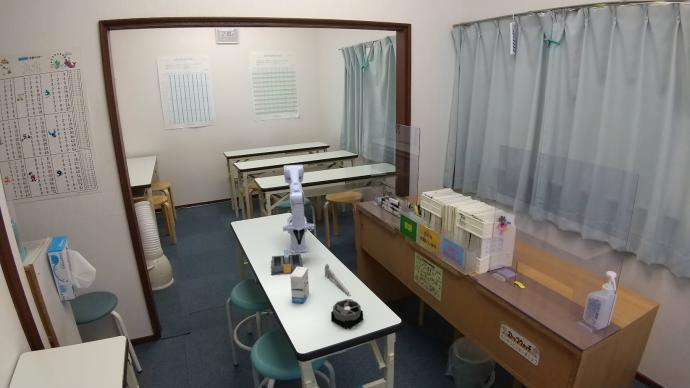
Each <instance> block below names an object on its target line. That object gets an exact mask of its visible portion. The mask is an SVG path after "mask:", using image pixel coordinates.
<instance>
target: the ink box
mask: <svg viewBox="0 0 690 388" xmlns="http://www.w3.org/2000/svg"><path fill="white" fill-rule="evenodd" d="M308 268H309V267H304V266H303V267H296V269H295V270H294V271H293V273H291V274H290V275H289V276H290V287H291V288H290V291H291V303H294V304H295V303H296V304H304V303H305V301H306V299H307V297H308V295H309V293H310V288H309V286H310V285H309V284H310V283H309V269H308Z"/></svg>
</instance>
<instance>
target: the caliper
mask: <svg viewBox="0 0 690 388" xmlns="http://www.w3.org/2000/svg"><path fill="white" fill-rule="evenodd" d="M324 276H326V278H330V279H332V280H334V282H335V283H336V285H338V287H339V289H341V290H342V292H343V293H344V294H345V295H346V296H348V297H351V294H350V291H349V290H348V289H347V288H346V287H345V285H344V284H343V283H342V282H341V280H339V278H338V276H336V275H335V273H334V271H333V270H332V269H331V268H330V265H329V264H328V263H327V264H325V265H324Z"/></svg>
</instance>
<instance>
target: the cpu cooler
mask: <svg viewBox="0 0 690 388" xmlns="http://www.w3.org/2000/svg"><path fill="white" fill-rule="evenodd" d="M361 308H362V306H361V305H360V304H359V302H357V301H355V300H353V299H351V298H345V299H342V300H339V301H336V302H335V303H334V305H333V306H332V311H331V312H330V319H331V322H332V323H334V324H336V325H337V326H340V327H342V328H343V329H345V330H347V329H349V330H351V329H352V328H353V327H355V326H357V325H358V324H359V323H361V322H363V320H364V310H362V309H361Z"/></svg>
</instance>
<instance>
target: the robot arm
mask: <svg viewBox="0 0 690 388" xmlns="http://www.w3.org/2000/svg"><path fill="white" fill-rule="evenodd" d="M283 176H284V177H283V178H284V181H285V182H284V183H286V184H288V185H289V203H290V209H291V211H290V212H291V215H290V216H289V217H288V218H287V223H286V224H287V225H282V232H286V231H287V233H288V234H290V245H289V247H290V248H289V249H290V253H291V254H296V253H297V254H299V253H306V252H308V251H307V246H306V245H307V244H306V233H308V230H310V229H311V230H315V224H314V223H308V222H307V217H306V216H305V192H304V191H303V186H302V184H301V183H303V181H304V176H305V175H304V165H303V164H291V165H289V164H288V165H286V164H285V165H283Z"/></svg>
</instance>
